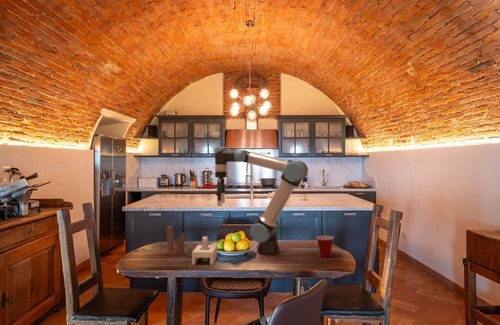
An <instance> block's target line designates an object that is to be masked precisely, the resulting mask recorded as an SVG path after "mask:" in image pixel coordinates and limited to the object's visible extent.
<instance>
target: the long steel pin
mask: <svg viewBox="0 0 500 325" xmlns="http://www.w3.org/2000/svg"><path fill="white" fill-rule="evenodd" d="M201 245H202V250H208V245H209V236H206V235H203V236H202V237H201ZM201 261H202V262H207V261H209V258H201Z"/></svg>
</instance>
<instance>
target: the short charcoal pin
mask: <svg viewBox="0 0 500 325" xmlns="http://www.w3.org/2000/svg"><path fill="white" fill-rule="evenodd" d="M193 251H194V245H193V244H187V245H186V257H187V258H192V252H193Z"/></svg>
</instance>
